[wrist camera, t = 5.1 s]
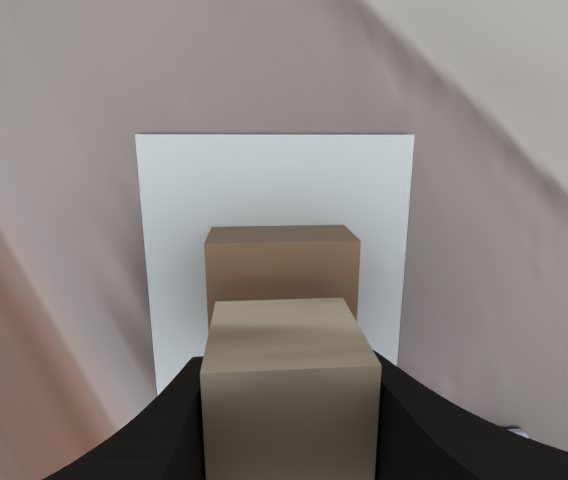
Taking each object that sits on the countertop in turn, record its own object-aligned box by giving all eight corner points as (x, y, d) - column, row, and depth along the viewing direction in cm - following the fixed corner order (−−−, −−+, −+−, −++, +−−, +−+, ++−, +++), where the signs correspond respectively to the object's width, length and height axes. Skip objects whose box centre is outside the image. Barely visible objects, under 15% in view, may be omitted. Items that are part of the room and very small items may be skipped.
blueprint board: (388, 401, 22) (415, 453, 19) (162, 412, 21) (144, 469, 18) (407, 134, 19) (445, 134, 15) (140, 134, 18) (111, 133, 14)
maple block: (339, 407, 14) (372, 510, 10) (220, 413, 14) (208, 522, 10) (342, 297, 13) (381, 365, 9) (215, 301, 13) (200, 373, 9)
